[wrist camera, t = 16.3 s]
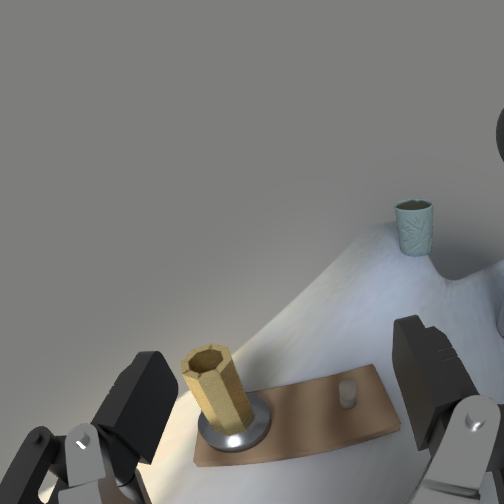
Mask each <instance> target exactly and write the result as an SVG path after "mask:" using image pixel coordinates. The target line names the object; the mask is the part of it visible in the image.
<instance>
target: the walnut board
mask: <svg viewBox="0 0 504 504" xmlns="http://www.w3.org/2000/svg"><path fill="white" fill-rule="evenodd" d="M248 393H252V394H255V395H257V396H259V397H261V398H262V399H263V400H264V401H265V402H266V404H267V406H268V408H269V411H270V414H271V417H272V425H271V428H270V431H269V433H268V435H267V436H266V437H265V439H264V440H263V441H262V442H260V443H259V444H258V445H256V446H255V447H253V448H251V449H249V450H246V451H243V452H238V453H224V452H220V451H217V450H215V449H213V448H212V447H210V446H209V445H208V444H207V443H206V441H205V440H204V439H203V437H202V436H201V434H200V432H199V429H198V434H197V441H196V447H195V454H194V460H193V462H194V463H195V464H196V465H197V466H198V467H212V466H232V465H245V464H255V463H264V462H272V461H279V460H286V459H292V458H297V457H303V456H308V455H313V454H318V453H322V452H327V451H331V450H335V449H339V448H343V447H347V446H350V445H354V444H358V443H361V442H364V441H368V440H371V439H374V438H377V437H380V436H383V435H386V434H389V433H392V432H395V431H397V430H399V428H400V424H401V423H400V421H399V418H398V416H397V414H396V412H395V409H394V407H393V405H392V403H391V401H390V399H389V396H388V394H387V392H386V390H385V388H384V386H383V384H382V382H381V380H380V377H379V375H378V373H377V371H376V369H375V367H374V365H373V364H371V365H368V366H364V367H361V368H358V369H354V370H350V371H347V372H343V373H339V374H336V375H332V376H328V377H324V378H320V379H315V380H311V381H307V382H302V383H297V384H293V385H288V386H283V387H277V388H272V389H266V390H260V391H254V392H248ZM201 412H202V410H201Z"/></svg>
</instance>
